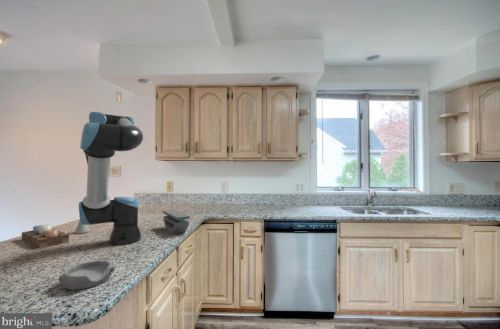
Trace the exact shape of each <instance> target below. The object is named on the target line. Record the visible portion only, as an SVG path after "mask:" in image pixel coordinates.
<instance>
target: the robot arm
mask: <svg viewBox="0 0 500 329" xmlns="http://www.w3.org/2000/svg"><path fill="white" fill-rule="evenodd" d="M143 134H144V133H143V132H142V130H141V129H140V128H139V127H137V126H135V119H134V118H133V117H132V116H126V115H125V116H124V115H115V114H108V113H104V112H101V111H90V112H89V115H88V122H86V123H84V125H83V129H82V133H81V138H80V139H81V140H80V149H81V150H83V153H84V155H85V158H86V163H87V174H86V175H87V178H86V179H87V180H86V195H85V196H84V197H83V199H82V200H81V201H79V203H78V212H79V213H78V214H79V216H80V217H79V221H81V223H82V224H83V225H88V226H93V225H99V224H111V223H113V226H112V231H111V232H110V236H109V238H108V239H109V241H108V242H109V244H111V245H117V246H118V245H119V246H120V245H121V246H122V245H131V244H135V243H137V242H139V241H141V240H142V233H141V231H140V228H139V224H138V223H139V200H138V199H137V198H134V197H128V196H115V197H114V198H113V199H111V198H110V196H108V192H109V179H110V178H109V177H110V170H111V167H110V166H111V158H113V157H114V156H115V154H116V152H129V151H133V150H135V149H136V148H138V147H139V146H140V145H141V144H142V142H143V140H144V135H143Z"/></svg>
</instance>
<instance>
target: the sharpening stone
mask: <svg viewBox="0 0 500 329" xmlns="http://www.w3.org/2000/svg"><path fill="white" fill-rule="evenodd" d="M162 214H164V215H165V216H164V215H163V222H164V227H165V230H166V231H167V230H168V231H167V232H169V233H170V232H171V234H172V235H173V234H174V235H175V234H180V233H186V231H187V229H188V227H189V226H190V221H189V220H190V217H191V216H190V215H189V214H186V213H183V212H180V211H179V210H176V209H170V210H163V211H162Z"/></svg>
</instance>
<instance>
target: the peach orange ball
mask: <svg viewBox="0 0 500 329" xmlns="http://www.w3.org/2000/svg"><path fill="white" fill-rule="evenodd" d="M58 231H59V230H58V229H55V230H48V231H45V238H50V237H56V236H58Z"/></svg>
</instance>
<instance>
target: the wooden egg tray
mask: <svg viewBox="0 0 500 329" xmlns="http://www.w3.org/2000/svg"><path fill="white" fill-rule="evenodd" d="M51 230H56V228H55V229H54V228H53V227H51ZM21 241H23V242H25V243H28V244H30V245H32V246H34V247H36V248H38V249H42V248H48V247H52V246H57V245H62V244H66V243H70V234H69V233H66V232H63V231H61V230H58V236H56V237H50V238H45V235H41V236H40V235H39V232H38V233H33V230H28V231H27V230H26V231H22V232H21Z"/></svg>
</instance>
